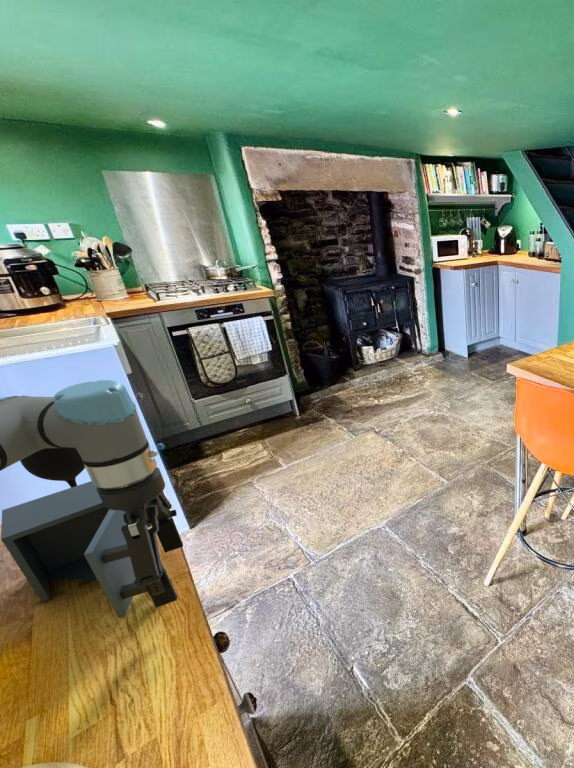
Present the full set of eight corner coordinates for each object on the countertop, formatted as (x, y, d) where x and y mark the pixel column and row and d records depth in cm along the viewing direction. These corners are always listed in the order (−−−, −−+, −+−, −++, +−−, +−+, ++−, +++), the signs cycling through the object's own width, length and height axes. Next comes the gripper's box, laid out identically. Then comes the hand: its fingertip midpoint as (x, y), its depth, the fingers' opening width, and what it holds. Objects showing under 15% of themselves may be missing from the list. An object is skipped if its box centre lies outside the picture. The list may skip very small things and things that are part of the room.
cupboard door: (188, 550, 84) (163, 489, 77) (173, 605, 72) (143, 538, 66) (143, 563, 80) (114, 500, 74) (120, 622, 69) (83, 554, 63)
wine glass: (78, 525, 90) (37, 449, 81) (39, 519, 91) (-5, 444, 83) (125, 495, 99) (93, 424, 91) (90, 490, 100) (55, 420, 92)
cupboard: (146, 560, 81) (116, 497, 75) (44, 607, 72) (0, 539, 65) (137, 535, 87) (109, 475, 81) (42, 575, 78) (1, 510, 71)
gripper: (147, 514, 56) (192, 617, 64) (166, 434, 75) (199, 522, 83) (72, 535, 52) (131, 642, 61) (112, 446, 71) (152, 537, 79)
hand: (170, 573), depth 72 cm, fingers open, 13 cm apart
